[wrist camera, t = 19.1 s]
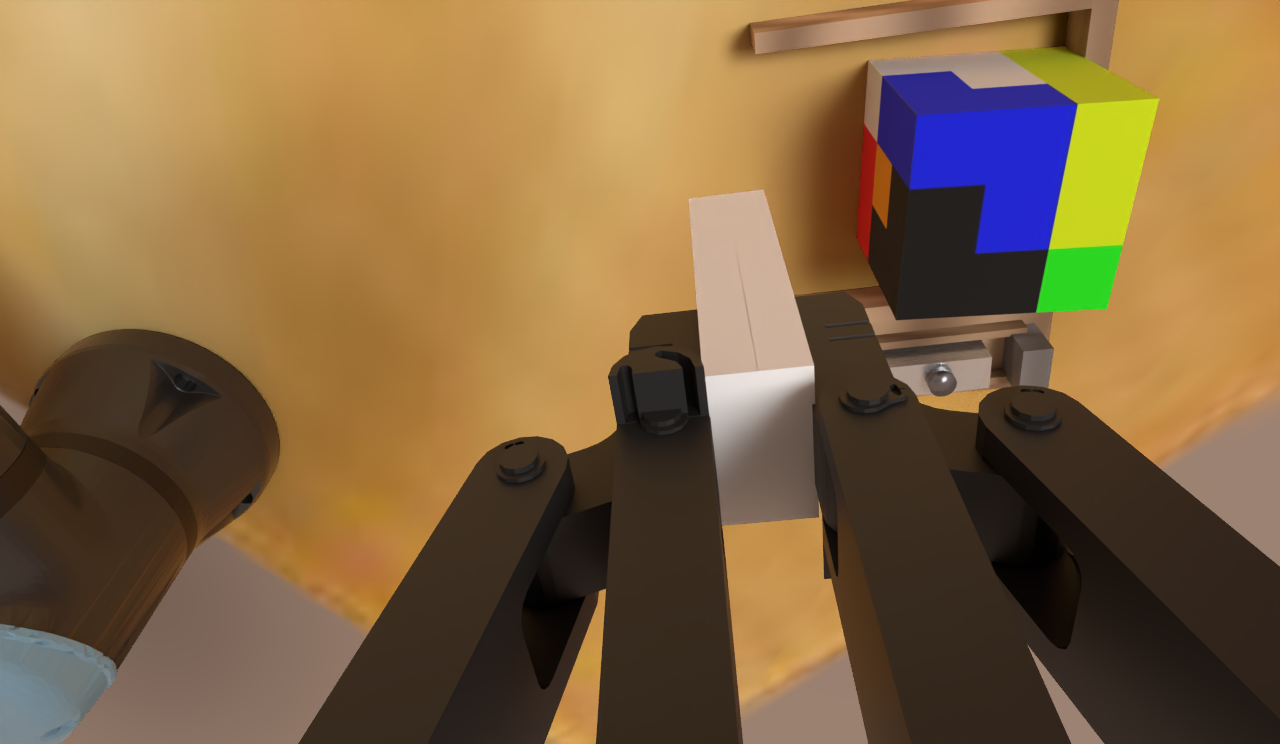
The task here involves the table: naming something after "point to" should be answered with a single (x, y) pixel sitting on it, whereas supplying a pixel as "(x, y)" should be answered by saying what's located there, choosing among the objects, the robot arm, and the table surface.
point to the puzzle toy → (998, 181)
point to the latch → (942, 367)
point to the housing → (937, 6)
